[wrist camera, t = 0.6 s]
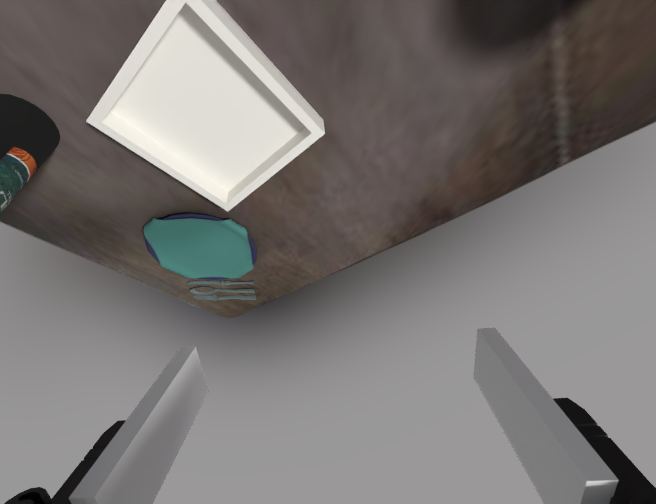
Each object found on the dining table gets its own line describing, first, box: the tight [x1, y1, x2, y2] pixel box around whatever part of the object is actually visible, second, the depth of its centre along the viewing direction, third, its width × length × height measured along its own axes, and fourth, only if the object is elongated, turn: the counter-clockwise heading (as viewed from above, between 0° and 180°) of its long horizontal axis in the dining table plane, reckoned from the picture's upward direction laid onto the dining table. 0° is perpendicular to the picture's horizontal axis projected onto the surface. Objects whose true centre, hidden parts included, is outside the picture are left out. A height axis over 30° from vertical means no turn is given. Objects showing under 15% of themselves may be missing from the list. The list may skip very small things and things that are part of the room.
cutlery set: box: [144, 213, 257, 301], centre depth 64 cm, size 20×30×2 cm, turn 175°
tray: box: [86, 0, 325, 211], centre depth 40 cm, size 20×20×4 cm
